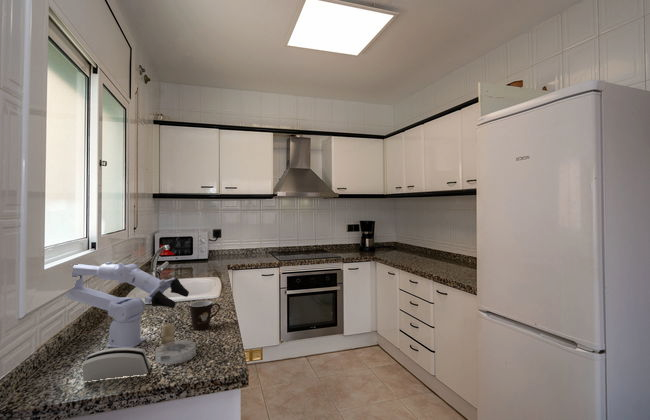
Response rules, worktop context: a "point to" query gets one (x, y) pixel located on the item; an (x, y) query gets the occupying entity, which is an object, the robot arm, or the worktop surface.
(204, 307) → the coffee mug
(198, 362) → the worktop surface
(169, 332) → the tan cylinder
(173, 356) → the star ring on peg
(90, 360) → the grey arched block
